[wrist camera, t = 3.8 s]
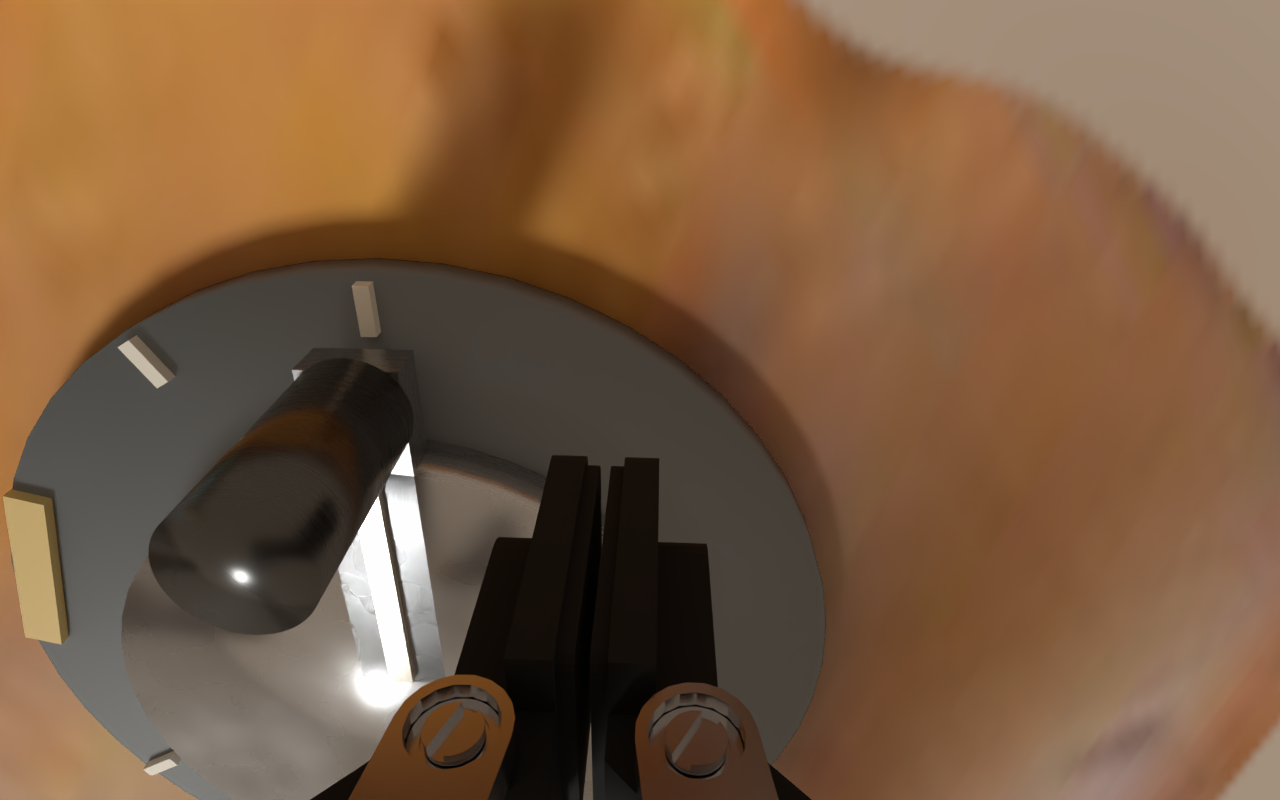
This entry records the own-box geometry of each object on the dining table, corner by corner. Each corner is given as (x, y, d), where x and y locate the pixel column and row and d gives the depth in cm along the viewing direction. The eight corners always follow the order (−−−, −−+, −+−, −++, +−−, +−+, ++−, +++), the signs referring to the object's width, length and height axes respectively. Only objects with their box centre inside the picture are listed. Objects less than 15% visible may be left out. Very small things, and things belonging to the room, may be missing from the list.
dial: (674, 824, 25) (678, 1070, 19) (230, 809, 25) (104, 1048, 20) (705, 337, 16) (728, 519, 11) (33, 320, 17) (-292, 491, 11)
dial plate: (928, 733, 24) (941, 769, 23) (377, 906, 30) (366, 941, 29) (553, 61, 15) (545, 66, 14) (-141, 498, 21) (-188, 527, 20)
